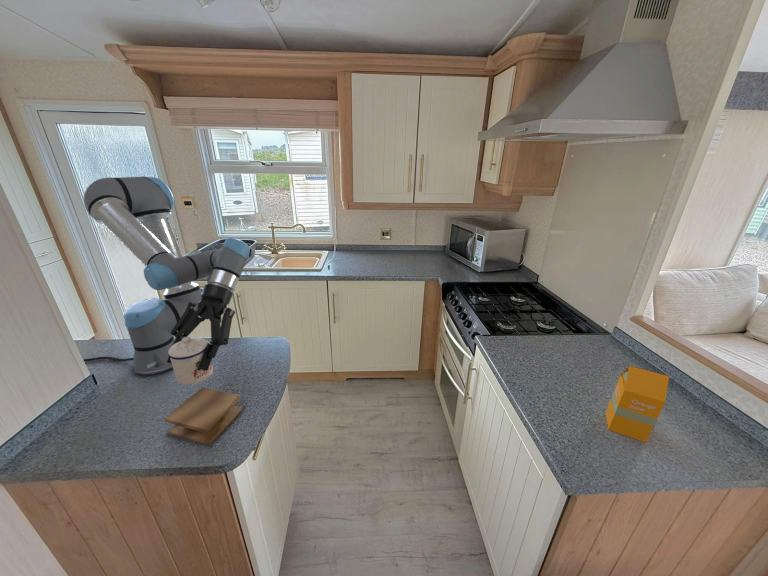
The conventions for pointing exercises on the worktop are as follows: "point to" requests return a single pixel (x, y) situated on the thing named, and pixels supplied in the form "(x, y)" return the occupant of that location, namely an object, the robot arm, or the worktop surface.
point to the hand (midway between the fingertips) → (186, 366)
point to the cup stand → (204, 415)
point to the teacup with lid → (189, 360)
